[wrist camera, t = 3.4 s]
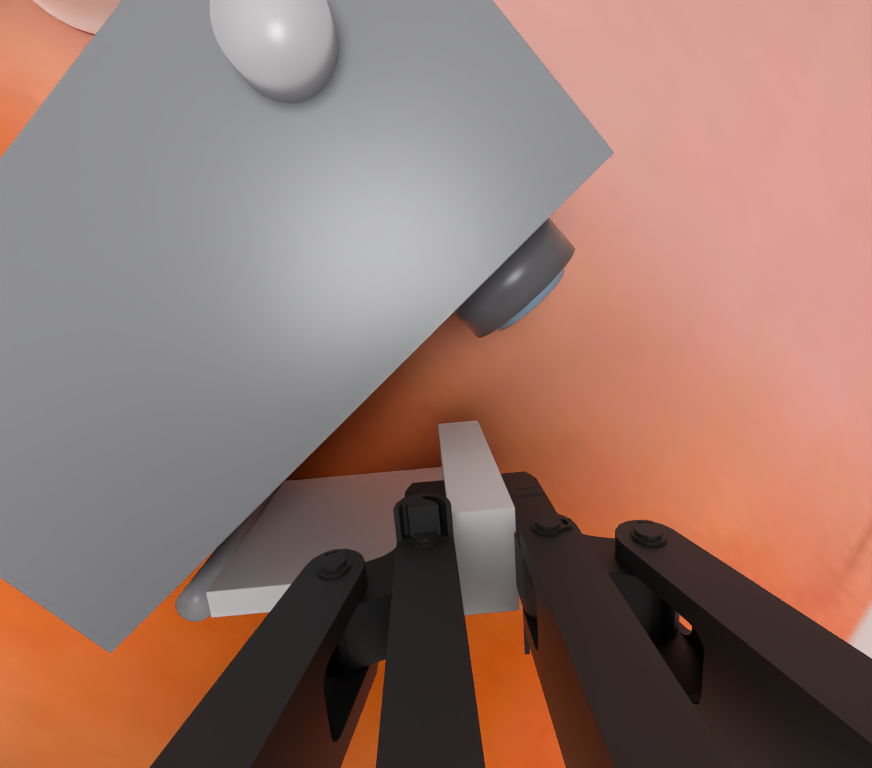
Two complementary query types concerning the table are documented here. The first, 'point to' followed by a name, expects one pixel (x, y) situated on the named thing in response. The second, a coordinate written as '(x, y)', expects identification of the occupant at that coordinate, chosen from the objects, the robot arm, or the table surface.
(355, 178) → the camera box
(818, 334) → the table surface
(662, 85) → the table surface
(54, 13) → the mug
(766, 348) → the table surface
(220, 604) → the door
